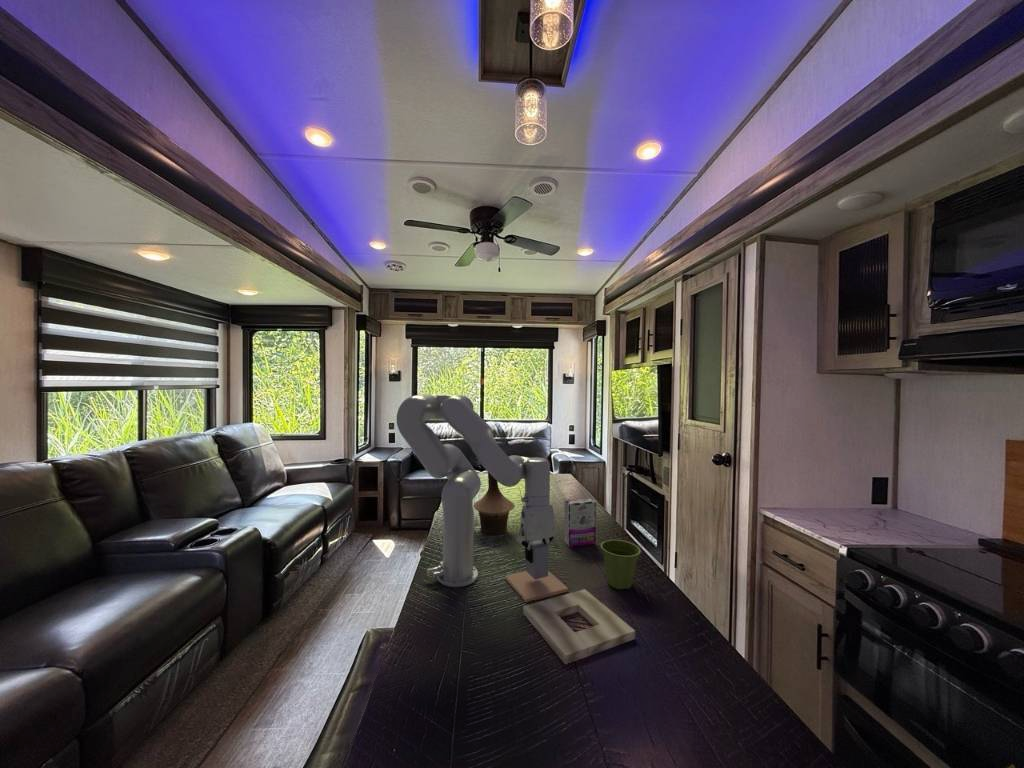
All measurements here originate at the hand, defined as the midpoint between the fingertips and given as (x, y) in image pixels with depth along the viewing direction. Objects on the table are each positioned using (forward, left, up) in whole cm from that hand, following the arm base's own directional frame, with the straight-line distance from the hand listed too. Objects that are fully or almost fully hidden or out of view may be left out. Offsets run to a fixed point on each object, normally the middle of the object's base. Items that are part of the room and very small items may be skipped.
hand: (536, 558), depth 115 cm
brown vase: (+5, +44, -8) cm, 45 cm away
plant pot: (+24, -10, -8) cm, 27 cm away
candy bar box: (+30, +19, -8) cm, 36 cm away
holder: (0, -21, -8) cm, 22 cm away
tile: (0, 0, -8) cm, 8 cm away
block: (0, 0, -4) cm, 4 cm away
